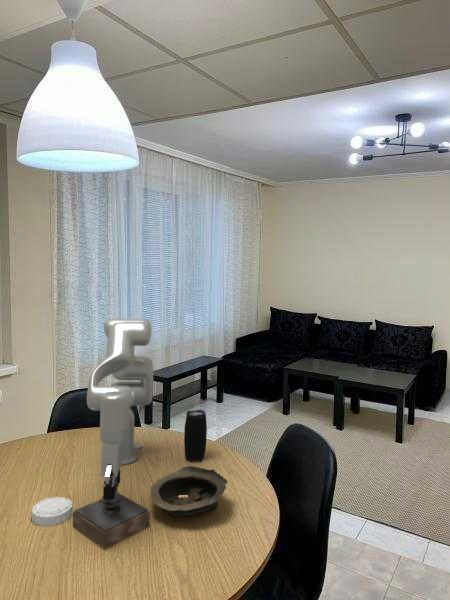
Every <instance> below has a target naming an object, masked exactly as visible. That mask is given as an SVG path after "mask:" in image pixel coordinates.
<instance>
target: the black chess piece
mask: <svg viewBox="0 0 450 600" xmlns="http://www.w3.org/2000/svg"><path fill="white" fill-rule="evenodd" d="M111 475H113V474H111ZM117 478H118V476H116V477H115V481H114V485H115V499H114V500H104V499H103V496H102V497H101V499H102V501H103V503H104V505H105V507H104V508H103V512H104V513H106V514H114V513H117V512H119V511H120V510H121V507H120V506H119V504H120V502H121V499H122V495H123V494H121V493H120V492H118V487H119V485H120V483H119V484H118V483H117ZM110 480H111V481H112V478H110ZM119 493H120V494H121V495H120V494H119Z"/></svg>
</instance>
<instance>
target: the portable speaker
mask: <svg viewBox="0 0 450 600" xmlns="http://www.w3.org/2000/svg"><path fill="white" fill-rule="evenodd" d="M207 431H208V426H207V415H206V412H205V411H204V410H202V409H196V410H187V411H186V416H185V423H184V432H183V433H184V438H183V444H184V457H185V460H186V462H188V461H190V462H189V463H193V462H195V461H199V462H203V461H204V460H205V456H206V455H205V454H206V450H207V449H206V447H207V437H208V436H207ZM203 459H204V460H203ZM202 460H203V461H202Z"/></svg>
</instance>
